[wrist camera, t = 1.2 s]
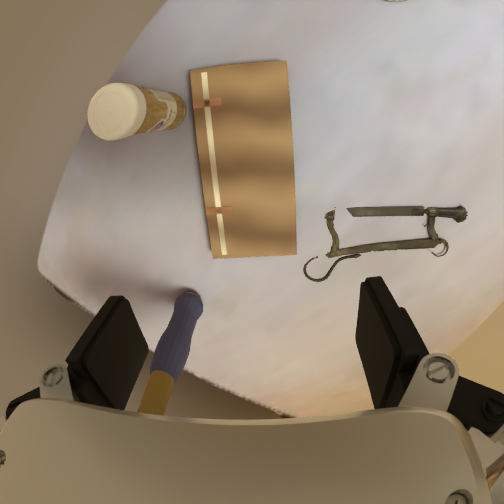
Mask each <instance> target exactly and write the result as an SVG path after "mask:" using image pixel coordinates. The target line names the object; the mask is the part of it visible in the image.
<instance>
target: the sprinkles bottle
mask: <svg viewBox="0 0 504 504" xmlns="http://www.w3.org/2000/svg"><path fill="white" fill-rule="evenodd" d="M185 113H186V107H185V103H184V101H183V100H182V98H181V97H180V96H178V95H177V94H175V93H166V92H163V91H158V90H153V89H147V88H138V87H136V86H134V85H131V84H126V83H110V84H107V85H105V86H103V87H102V88H100V89H99V90H98V91H97V92H96V93H95V94H94V96H93V97H92V99H91V101H90V104H89V107H88V115H87V117H88V123H89V126H90V128H91V130H92V132H93V133H94V134H95V135H96V136H97V137H99V138H101V139H103V140H107V141H112V140H119V139H124V138H127V137H129V136H131V135H132V134H137V133H147V132H154V131H160V130H170V129H173V128H175V127H177V126H178V125H180V123H181V122H182V121H183V119H184V116H185Z"/></svg>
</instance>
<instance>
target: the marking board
mask: <svg viewBox="0 0 504 504" xmlns="http://www.w3.org/2000/svg"><path fill="white" fill-rule="evenodd" d="M190 77H191V88H192V99H193V109H194V119H195V128H196V137H197V146H198V154H199V163H200V171H201V179H202V186H203V194H204V201H205V210H206V215H207V222H208V229H209V236H210V243H211V249H212V256H213V259H216V258H238V257H260V256H281V255H297V243H296V203H295V177H294V156H293V139H292V123H291V108H290V95H289V83H288V72H287V61H266V62H252V63H241V64H231V65H223V66H215V67H208V68H202V69H196V70H190Z"/></svg>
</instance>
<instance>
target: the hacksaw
mask: <svg viewBox="0 0 504 504" xmlns="http://www.w3.org/2000/svg"><path fill="white" fill-rule="evenodd" d="M335 208H336V207H335ZM346 209H347V210H348V211H349V212H350V214H352V216H353V217H363V216H423V215H424V213H426V214H427V215H428V216H429V219H428V223H427V224H428V231H429V235H430V237H431V239H422V240H409V241H397V242H383V243H373V244H365V245H359V246H354V247H348V248H345V249H344V248H342V249H339V238H338V235H337V233H336V231H335V230H334V227H333V226H334V224H333V220H334V214H335V210H333V211H331V212H329V213H327V214H325V218H326V219H327V220H326V221H327V226H328V229H329V231H330V233H331V235H332V238H333V245H332V246H331V251H330V253H328V254H326V256H328V258H332V257H335V256H341V255H348V254H354V255H350V256H345V257H342V258H339V259H338V260H336V261H335V263H334V264H333V265H332V267H331V268H330V270H329V272H328V273H327V275H326V276H325V277H324V278H322V279H313V278H311V277H310V276H308V274H307V273H306V265H307V264H308V263H309V262H310V261H311V260H313V259H314V258H312V259H310V260H309V261H308V262H307V263H306V264H305V265H304V269H303V270H304V274H305V276H306V277H307V278H308V279H310V280H312V281H316V282H320V281H323V280H325V279H327V278H328V277H329V275H330V273H331V272H332V270H333V268H334V267H335V265H336V264H337V263H338V262H339V261H341V260H343V259H347V258H357V257H359V256H361V255H360V254H356V253H365V252H371V251H384V250H397V249H422V248H434V247H435V246H436V245H438V244H441V243H445V244H446V247H447V249H446V252H445V253H444V254H443V255H445V254H446V253H447V251H448V248H449V247H448V243H447V241H445V240H441V239H438V234H436V231H435V229H434V223H435V217H437V216H438V217H447V218H453V219H455V220H456V221H457V222H458V223H459V222H463V221H464V220H465V219H466V216H468V215H466V214H467V213H468V212H467V211H466V209H465V208H464V207H462V206H460V207H459V208H428V210H424V207H361V208H360V207H356V208H355V207H354V208H352V207H351V208H346ZM427 224H426V225H427ZM426 225H424V227H425V226H426ZM338 249H339V250H338ZM431 253H432V252H431ZM432 254H433V255H435V254H434V253H432ZM443 255H440V256H443ZM435 256H437V255H435ZM437 257H439V256H437ZM316 258H318V256H317V257H316Z"/></svg>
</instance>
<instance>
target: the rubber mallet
mask: <svg viewBox="0 0 504 504" xmlns="http://www.w3.org/2000/svg"><path fill="white" fill-rule="evenodd" d="M202 312H203V303H202V301H201V299H200V297H199V296H198V295H197V294H196V293H193V292H186V293H184V294H182V295H181V296H179V297H178V298H177V299H176V301H175V304H174V312H173V315H172V317H171V320H170V322H169V325H168V327H167V329H166V330H165V332H164V333H163V334H162V336H161V338H160V340H159V342H158V344H157V347H156V350H155V353H154V356H153V360H152V363H151V369H150V370H151V371H150V375H151V376H150V379H149V381H148V384H147V387H146V389H145V392H144V395H143V398H142V400H141V403H140V407H139V409H138V413H145V414H153V415H162V416H163V415H164V412H165V409H166V406H167V403H168V400H169V397H170V393H171V390H172V387H173V385H174V383H175V382H176V381H177V379H178V378H179V376H180V374H181V372H182V370H183V368H184V366H185V363H186V361H187V358H188V355H189V351H190V344H191V338H192V334H193V331H194V328H195V325H196V322H197V320H198V318H199V317H200V316H201V314H202Z"/></svg>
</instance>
